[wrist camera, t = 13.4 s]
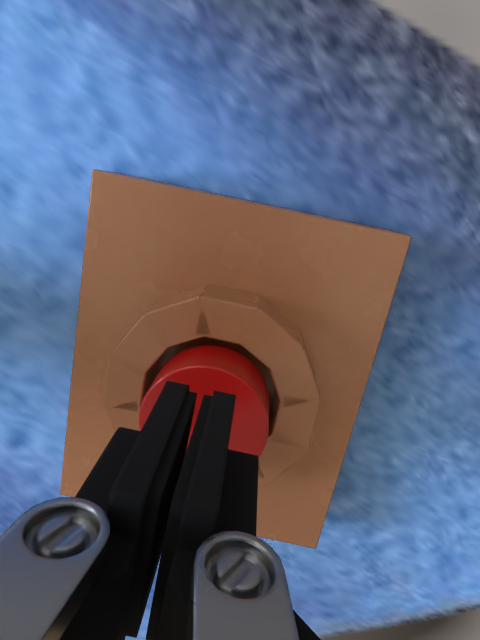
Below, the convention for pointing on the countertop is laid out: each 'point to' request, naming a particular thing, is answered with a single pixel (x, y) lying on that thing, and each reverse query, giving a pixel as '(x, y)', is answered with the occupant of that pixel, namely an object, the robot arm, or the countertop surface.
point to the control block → (231, 326)
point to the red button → (225, 376)
